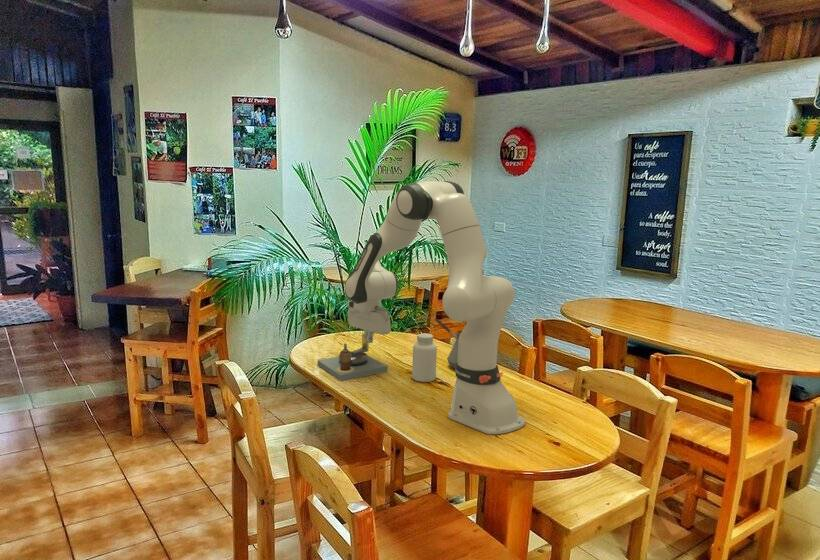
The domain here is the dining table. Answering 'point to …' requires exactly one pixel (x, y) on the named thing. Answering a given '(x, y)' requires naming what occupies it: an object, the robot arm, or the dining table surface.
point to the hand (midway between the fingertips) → (369, 342)
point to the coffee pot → (454, 352)
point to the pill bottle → (424, 358)
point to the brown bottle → (345, 359)
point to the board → (352, 368)
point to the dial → (359, 354)
